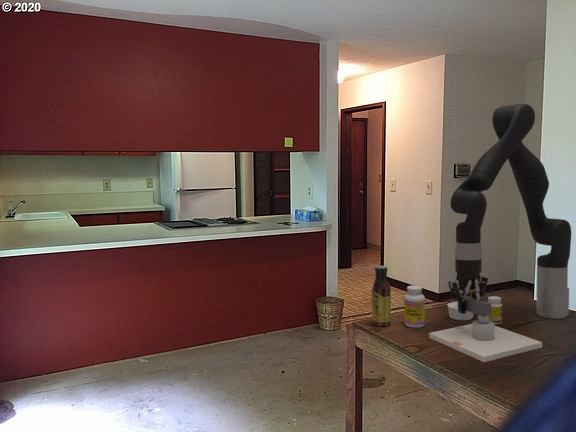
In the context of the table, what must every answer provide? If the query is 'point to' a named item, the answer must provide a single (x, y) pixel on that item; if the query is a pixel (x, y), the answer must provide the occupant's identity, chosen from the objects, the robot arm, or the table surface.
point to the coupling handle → (478, 308)
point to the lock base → (485, 341)
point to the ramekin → (456, 314)
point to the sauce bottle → (381, 298)
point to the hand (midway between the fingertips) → (468, 311)
